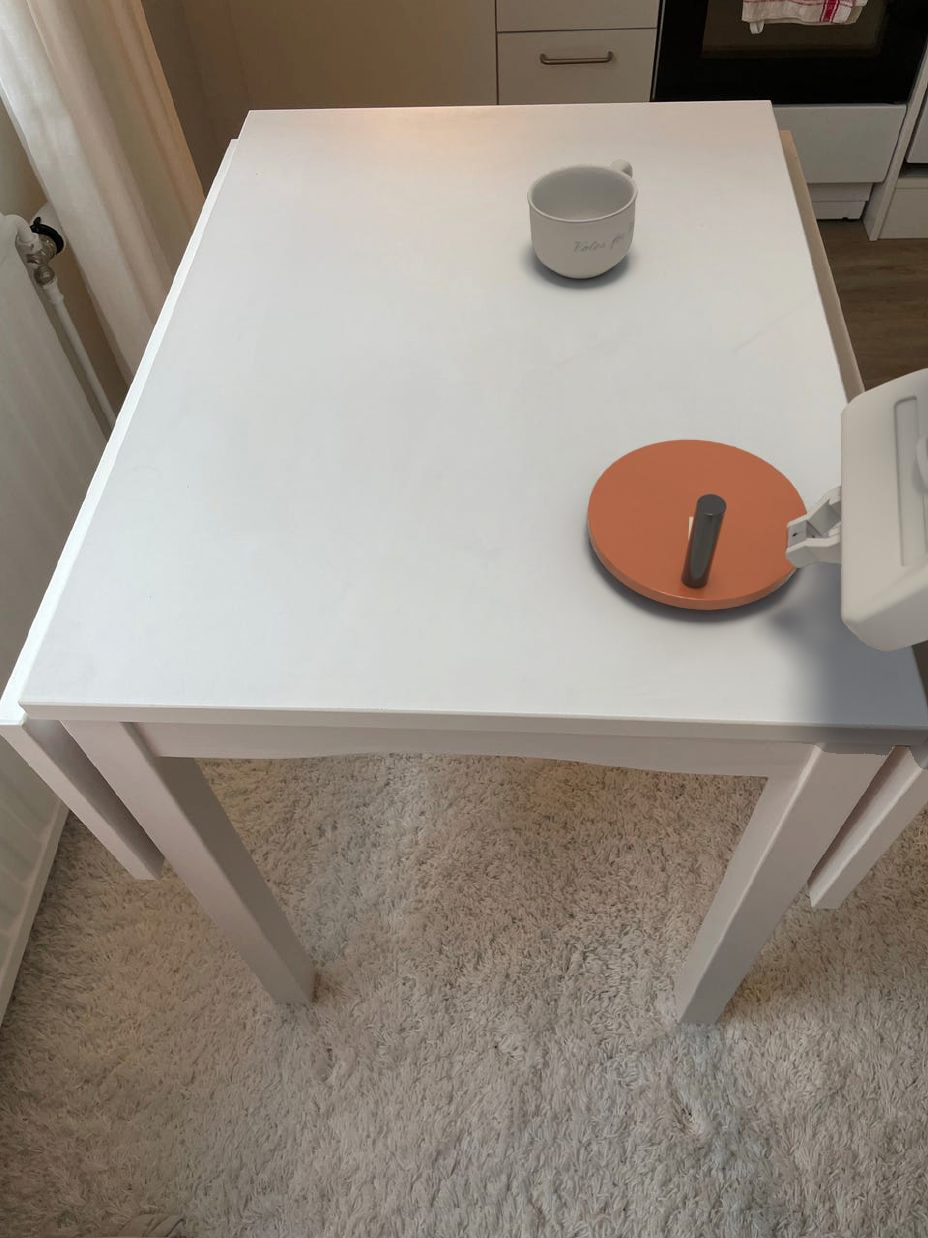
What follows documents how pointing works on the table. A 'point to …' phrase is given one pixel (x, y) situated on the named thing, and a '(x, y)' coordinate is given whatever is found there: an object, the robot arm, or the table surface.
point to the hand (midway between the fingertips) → (790, 546)
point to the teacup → (583, 217)
